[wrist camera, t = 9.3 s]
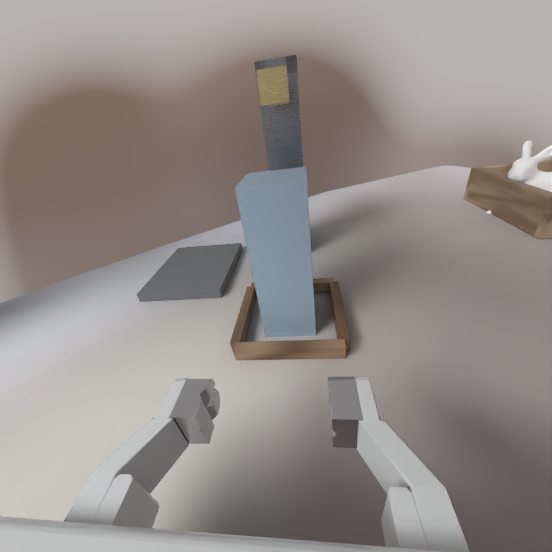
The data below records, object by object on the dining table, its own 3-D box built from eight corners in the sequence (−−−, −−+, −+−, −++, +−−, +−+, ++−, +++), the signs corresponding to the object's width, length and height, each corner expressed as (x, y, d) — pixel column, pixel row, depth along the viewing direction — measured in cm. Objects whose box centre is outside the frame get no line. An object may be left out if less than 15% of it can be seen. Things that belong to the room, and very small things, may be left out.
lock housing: (280, 255, 36) (254, 62, 25) (282, 237, 41) (262, 70, 30) (308, 253, 35) (296, 54, 24) (308, 235, 40) (297, 64, 29)
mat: (140, 301, 30) (136, 294, 30) (180, 253, 40) (178, 248, 40) (221, 297, 29) (219, 289, 28) (242, 249, 39) (240, 243, 39)
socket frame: (231, 359, 21) (227, 350, 21) (250, 291, 29) (248, 282, 29) (351, 358, 20) (351, 347, 19) (336, 286, 28) (336, 277, 27)
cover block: (265, 336, 23) (234, 187, 16) (270, 304, 27) (247, 173, 20) (316, 335, 22) (306, 180, 16) (314, 302, 26) (305, 166, 19)
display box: (538, 239, 31) (557, 197, 28) (463, 198, 45) (471, 168, 43) (669, 229, 29) (702, 184, 27) (548, 190, 44) (561, 158, 41)
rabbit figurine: (476, 216, 40) (498, 146, 34) (478, 201, 45) (498, 138, 39) (591, 225, 33) (638, 142, 28) (578, 207, 38) (616, 133, 33)
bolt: (260, 106, 22) (256, 70, 21) (275, 107, 34) (273, 85, 33) (289, 101, 21) (286, 65, 20) (293, 105, 34) (292, 82, 33)
